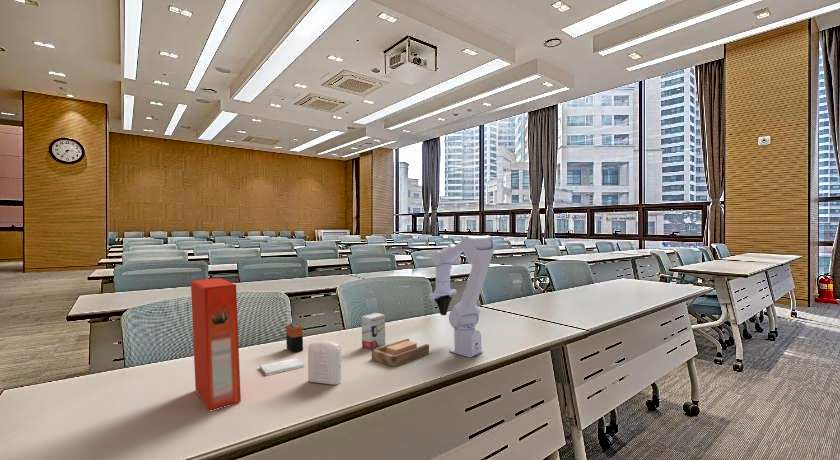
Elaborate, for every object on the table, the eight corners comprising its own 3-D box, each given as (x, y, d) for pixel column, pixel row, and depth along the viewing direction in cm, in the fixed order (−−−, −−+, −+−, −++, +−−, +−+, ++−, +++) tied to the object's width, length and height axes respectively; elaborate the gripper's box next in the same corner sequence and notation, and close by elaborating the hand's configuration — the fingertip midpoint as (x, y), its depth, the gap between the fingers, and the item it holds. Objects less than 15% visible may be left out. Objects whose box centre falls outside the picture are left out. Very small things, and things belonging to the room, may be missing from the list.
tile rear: (416, 354, 143) (416, 343, 143) (406, 357, 139) (406, 346, 139) (407, 351, 147) (407, 340, 146) (397, 354, 143) (397, 343, 143)
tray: (429, 353, 143) (428, 344, 143) (393, 366, 131) (393, 357, 131) (407, 347, 151) (406, 338, 151) (371, 358, 139) (371, 349, 139)
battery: (297, 346, 155) (297, 320, 154) (303, 350, 149) (302, 324, 149) (286, 348, 152) (285, 322, 152) (291, 353, 146) (291, 326, 146)
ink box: (370, 349, 149) (369, 318, 149) (361, 347, 152) (360, 316, 152) (386, 343, 156) (385, 313, 155) (376, 341, 159) (376, 312, 158)
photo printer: (343, 380, 120) (342, 340, 120) (336, 386, 116) (335, 344, 116) (314, 377, 123) (313, 337, 123) (306, 382, 119) (305, 341, 119)
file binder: (207, 412, 102) (203, 287, 101) (194, 390, 115) (190, 280, 114) (240, 402, 107) (237, 284, 106) (224, 383, 120) (221, 277, 119)
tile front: (406, 357, 139) (406, 346, 139) (396, 361, 136) (396, 350, 136) (397, 354, 143) (396, 343, 143) (386, 358, 139) (386, 347, 139)
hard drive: (265, 372, 125) (304, 363, 132) (259, 365, 132) (296, 357, 139) (265, 377, 125) (304, 368, 132) (259, 370, 132) (296, 361, 139)
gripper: (447, 277, 165) (447, 310, 166) (423, 282, 155) (423, 316, 155) (460, 279, 160) (460, 312, 161) (436, 284, 150) (437, 319, 150)
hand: (443, 314), depth 158 cm, fingers closed
